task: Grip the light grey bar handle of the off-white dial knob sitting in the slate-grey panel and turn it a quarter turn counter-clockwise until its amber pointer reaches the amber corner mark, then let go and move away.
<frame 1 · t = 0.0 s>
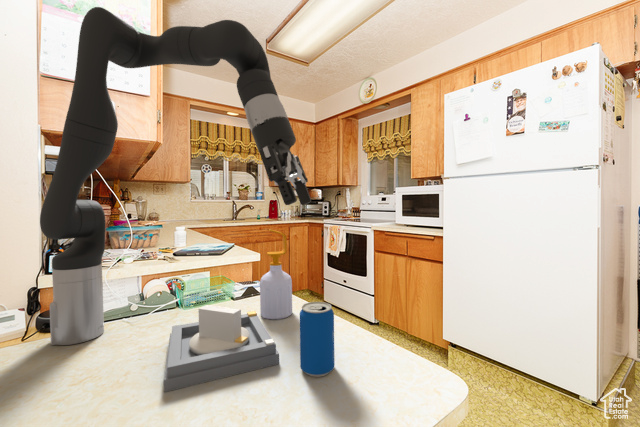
hand: (299, 203, 55), 31 cm above the countertop, tool tilted 20°, fingers open, 8 cm apart
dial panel: (220, 352, 62), on the countertop
dial knob: (220, 325, 62), point 6 cm above the countertop, hinge at 0.0°
beverage can: (317, 370, 55), on the countertop
soap bottle: (276, 314, 84), on the countertop
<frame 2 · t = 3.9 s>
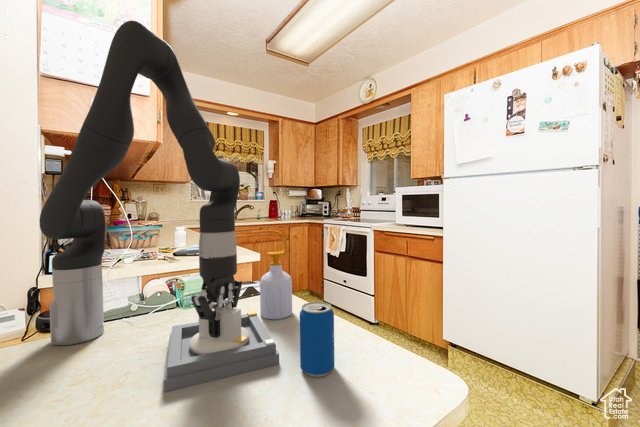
hand: (220, 333, 62), 4 cm above the countertop, tool pointing down, fingers closed on dial knob, 2 cm apart
dial knob: (220, 325, 62), point 6 cm above the countertop, hinge at 0.0°, touching gripper
everything else where it was.
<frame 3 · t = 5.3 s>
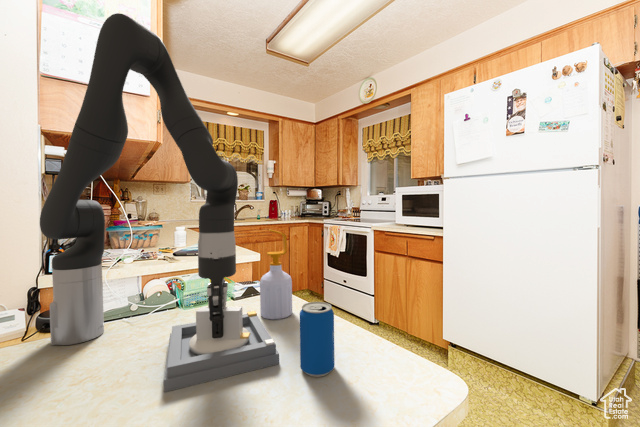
hand: (218, 333, 62), 4 cm above the countertop, tool pointing down, fingers closed on dial knob, 3 cm apart
dial knob: (220, 325, 62), point 6 cm above the countertop, hinge at 21.1°, touching gripper
everything else where it was.
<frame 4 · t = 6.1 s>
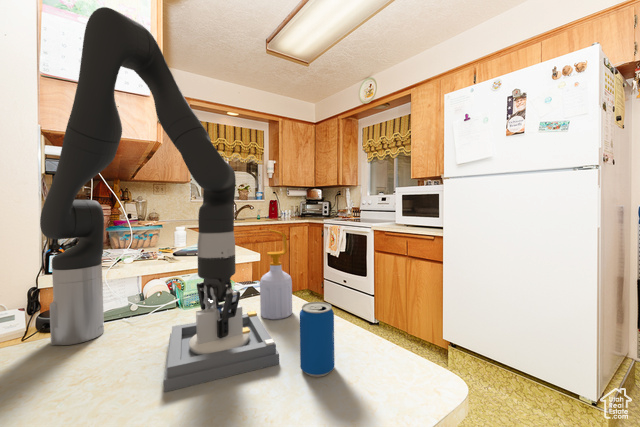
hand: (217, 333, 62), 4 cm above the countertop, tool pointing down, fingers closed on dial knob, 3 cm apart
dial knob: (220, 325, 62), point 6 cm above the countertop, hinge at 50.5°, touching gripper
everything else where it was.
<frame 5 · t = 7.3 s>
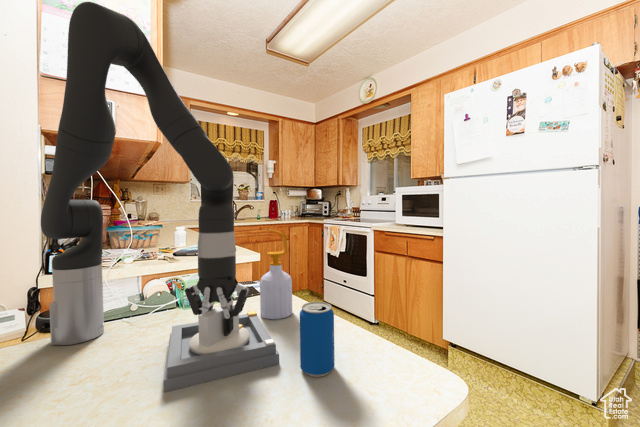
hand: (218, 333, 62), 4 cm above the countertop, tool pointing down, fingers closed on dial knob, 3 cm apart
dial knob: (220, 325, 62), point 6 cm above the countertop, hinge at 85.4°, touching gripper
everything else where it was.
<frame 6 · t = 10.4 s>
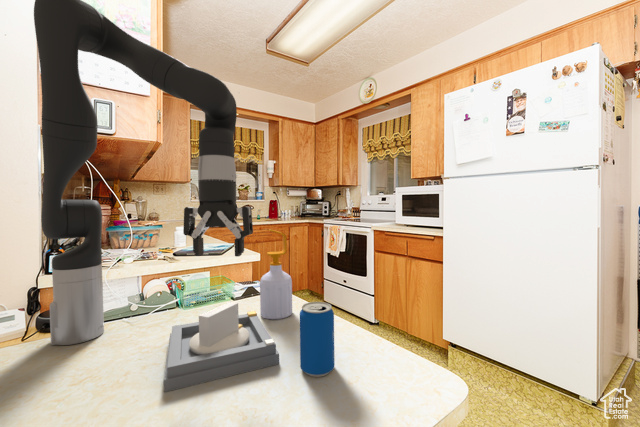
hand: (219, 255, 62), 21 cm above the countertop, tool pointing down, fingers open, 8 cm apart
dial knob: (220, 325, 62), point 6 cm above the countertop, hinge at 87.0°
everything else where it was.
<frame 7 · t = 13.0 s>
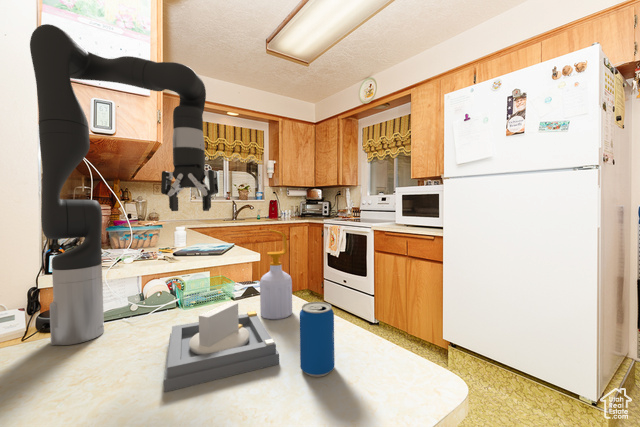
hand: (190, 211, 76), 30 cm above the countertop, tool pointing down, fingers open, 8 cm apart
nothing on the countertop moved.
at the end: dial knob at +87° (first picture: +0°); beverage can moved 0.2 cm from its start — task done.
